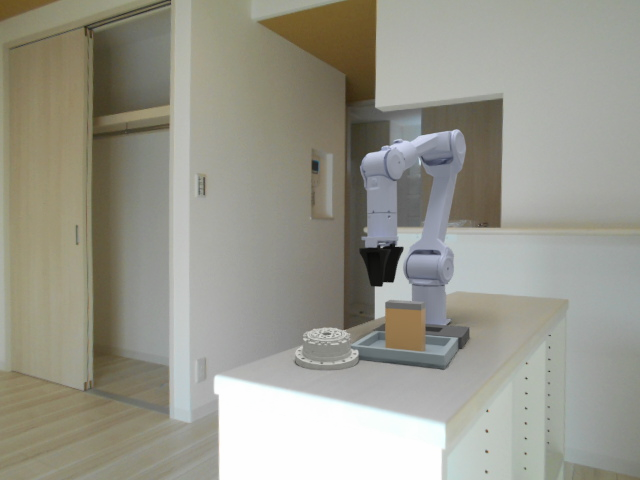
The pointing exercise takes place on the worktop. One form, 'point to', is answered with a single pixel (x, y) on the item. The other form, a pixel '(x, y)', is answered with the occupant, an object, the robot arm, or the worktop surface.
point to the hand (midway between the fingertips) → (382, 284)
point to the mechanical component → (326, 350)
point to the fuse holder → (443, 332)
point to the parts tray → (407, 351)
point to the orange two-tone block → (405, 325)
